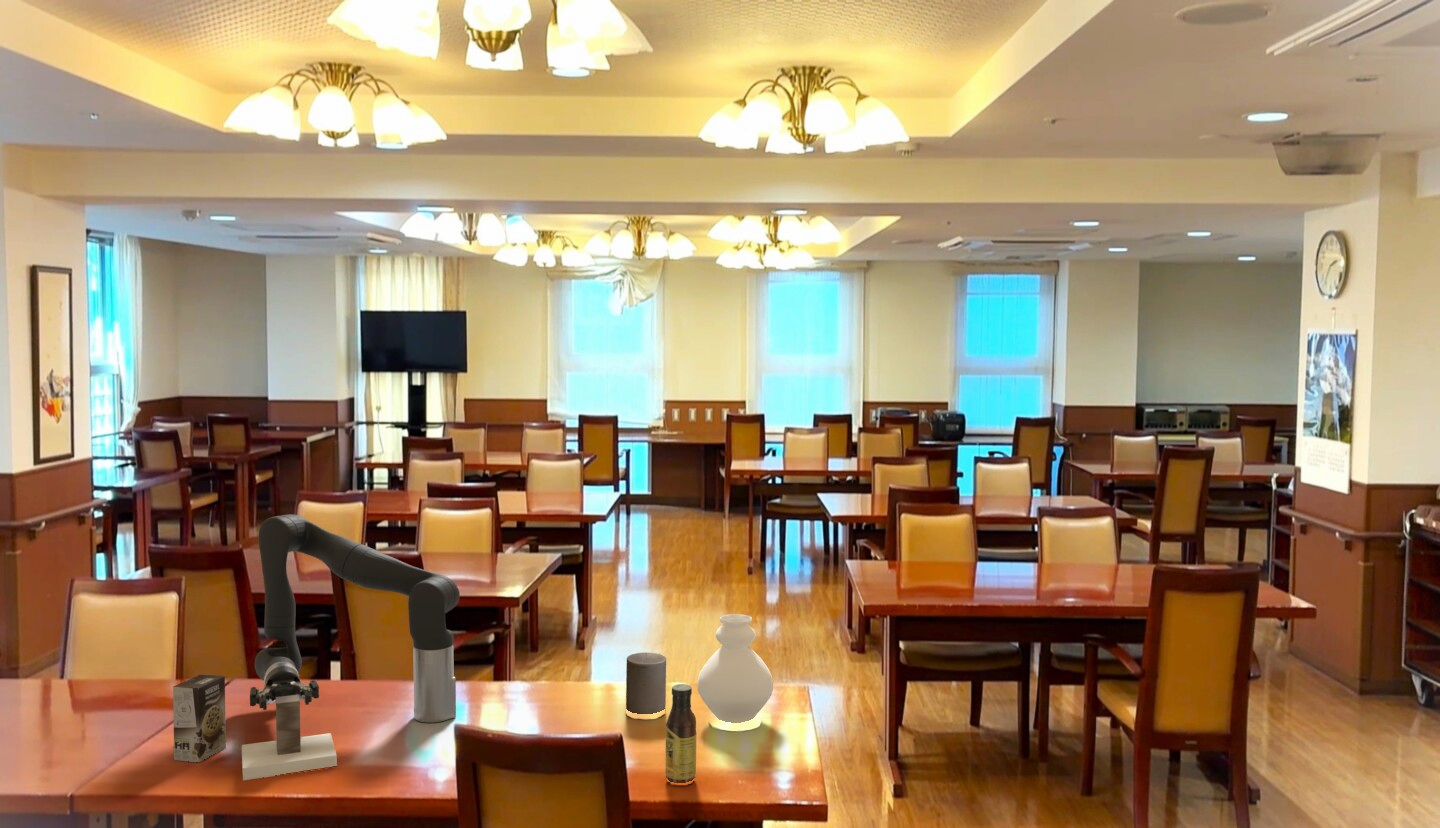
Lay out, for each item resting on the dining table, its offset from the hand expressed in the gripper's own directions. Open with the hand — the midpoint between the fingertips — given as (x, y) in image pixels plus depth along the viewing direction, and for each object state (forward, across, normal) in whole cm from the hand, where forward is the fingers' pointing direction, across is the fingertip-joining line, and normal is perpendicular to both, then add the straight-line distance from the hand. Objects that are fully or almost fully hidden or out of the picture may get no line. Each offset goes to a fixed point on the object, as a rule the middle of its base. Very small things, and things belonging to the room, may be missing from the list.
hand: (286, 702), depth 235 cm
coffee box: (-5, -17, +11) cm, 21 cm away
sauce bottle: (+50, +72, +11) cm, 88 cm away
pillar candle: (+10, +80, +11) cm, 81 cm away
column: (+7, 0, +8) cm, 11 cm away
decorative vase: (+24, +97, +11) cm, 100 cm away
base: (+7, 0, +10) cm, 13 cm away
